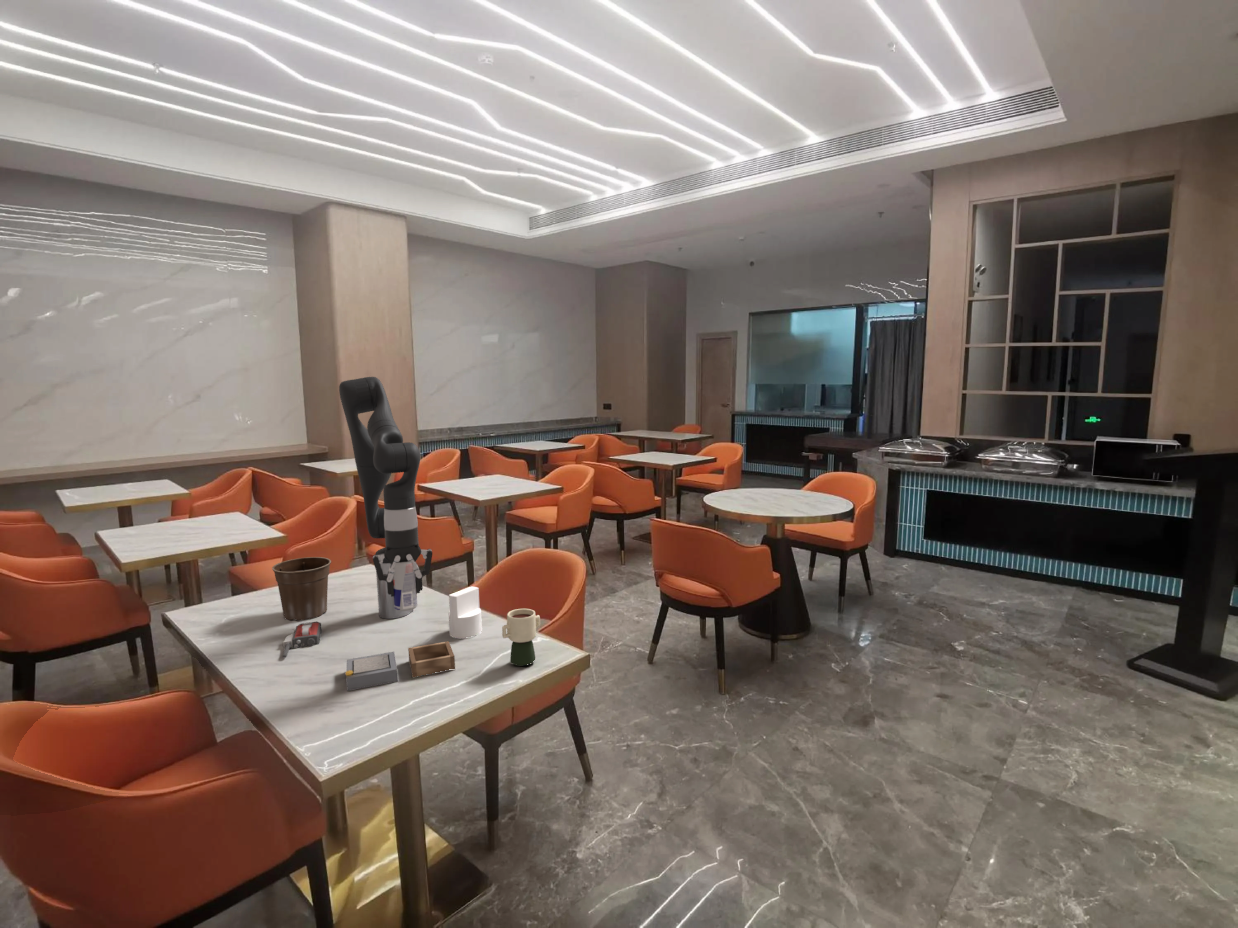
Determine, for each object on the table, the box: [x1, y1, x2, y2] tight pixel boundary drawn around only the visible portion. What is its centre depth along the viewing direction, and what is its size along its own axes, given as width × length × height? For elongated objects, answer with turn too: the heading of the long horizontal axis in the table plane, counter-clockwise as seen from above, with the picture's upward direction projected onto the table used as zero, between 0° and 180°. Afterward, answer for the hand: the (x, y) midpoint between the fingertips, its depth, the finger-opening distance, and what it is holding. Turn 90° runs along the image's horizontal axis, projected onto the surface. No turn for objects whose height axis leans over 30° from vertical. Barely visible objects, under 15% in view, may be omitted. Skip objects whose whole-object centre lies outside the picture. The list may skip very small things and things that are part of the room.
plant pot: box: [271, 556, 332, 622], centre depth 191 cm, size 16×16×16 cm
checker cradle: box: [345, 651, 399, 692], centre depth 149 cm, size 11×11×4 cm
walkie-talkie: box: [282, 621, 322, 658], centre depth 169 cm, size 9×4×20 cm
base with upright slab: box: [448, 586, 483, 639], centre depth 175 cm, size 9×9×12 cm
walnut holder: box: [407, 641, 456, 678], centre depth 154 cm, size 10×10×4 cm
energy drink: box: [393, 561, 418, 611], centre depth 150 cm, size 5×5×12 cm
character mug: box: [501, 608, 541, 667], centre depth 154 cm, size 11×7×13 cm, turn 131°
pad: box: [353, 654, 390, 675], centre depth 149 cm, size 8×8×2 cm
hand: (405, 593), depth 150 cm, fingers closed on energy drink, 5 cm apart
